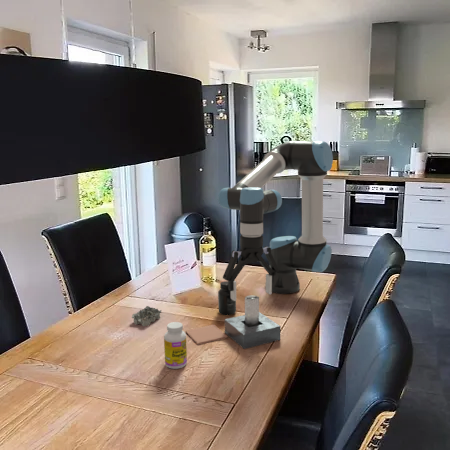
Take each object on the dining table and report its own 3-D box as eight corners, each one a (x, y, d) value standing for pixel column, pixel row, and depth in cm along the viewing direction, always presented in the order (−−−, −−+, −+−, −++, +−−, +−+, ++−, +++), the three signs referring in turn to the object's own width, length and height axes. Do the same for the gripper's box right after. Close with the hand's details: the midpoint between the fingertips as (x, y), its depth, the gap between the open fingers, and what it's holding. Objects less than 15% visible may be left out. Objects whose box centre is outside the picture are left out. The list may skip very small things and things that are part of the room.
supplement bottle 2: (236, 309, 185) (236, 280, 183) (235, 316, 179) (235, 286, 176) (219, 308, 186) (218, 280, 184) (217, 315, 179) (216, 285, 177)
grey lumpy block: (146, 328, 170) (145, 317, 169) (130, 324, 174) (129, 313, 173) (163, 317, 179) (163, 307, 178) (147, 313, 183) (147, 304, 182)
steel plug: (254, 332, 164) (254, 293, 161) (261, 337, 160) (261, 298, 157) (242, 335, 162) (242, 296, 159) (249, 340, 158) (249, 300, 155)
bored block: (259, 324, 170) (259, 311, 169) (280, 340, 158) (280, 326, 157) (224, 332, 164) (224, 319, 163) (243, 349, 152) (243, 334, 151)
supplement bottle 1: (170, 372, 139) (169, 331, 136) (161, 362, 144) (159, 323, 141) (190, 365, 142) (189, 326, 139) (181, 357, 148) (179, 318, 145)
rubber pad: (213, 325, 170) (213, 324, 170) (227, 337, 160) (227, 336, 160) (185, 332, 165) (185, 330, 165) (197, 344, 156) (197, 342, 156)
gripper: (277, 229, 163) (276, 287, 167) (212, 236, 152) (213, 298, 156) (289, 233, 156) (288, 293, 160) (222, 241, 145) (223, 306, 149)
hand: (251, 296), depth 158 cm, fingers open, 13 cm apart
